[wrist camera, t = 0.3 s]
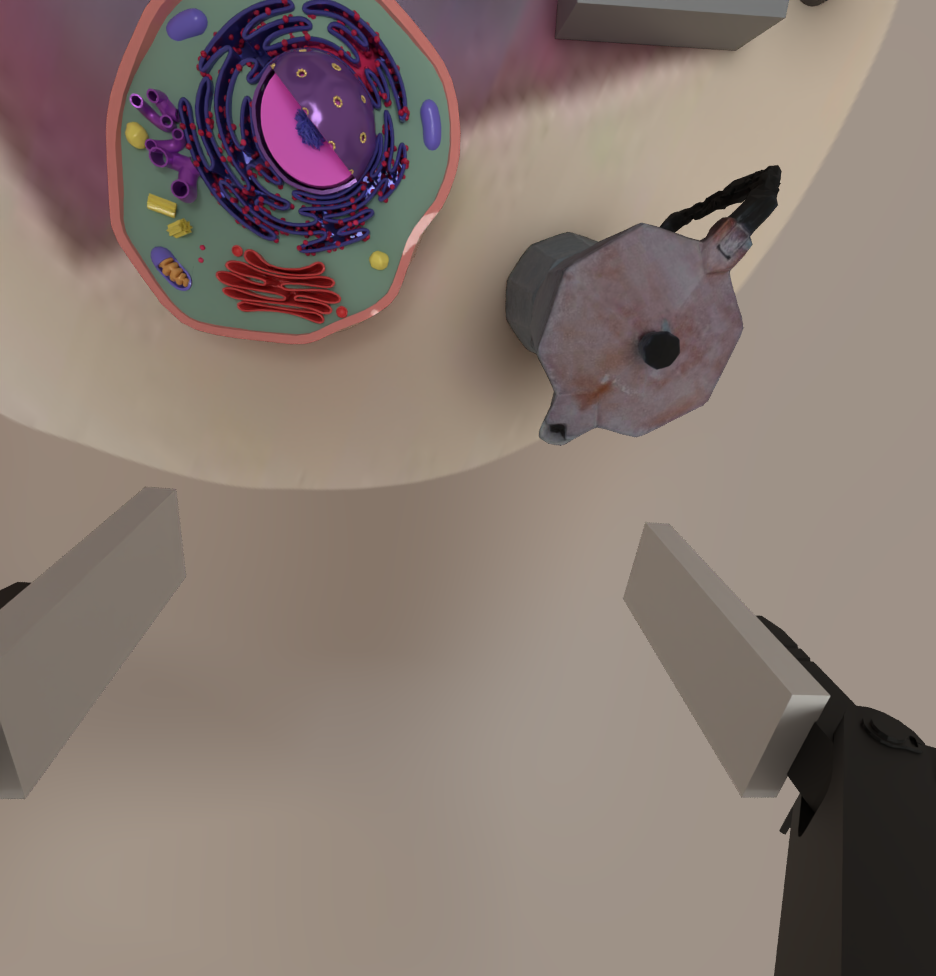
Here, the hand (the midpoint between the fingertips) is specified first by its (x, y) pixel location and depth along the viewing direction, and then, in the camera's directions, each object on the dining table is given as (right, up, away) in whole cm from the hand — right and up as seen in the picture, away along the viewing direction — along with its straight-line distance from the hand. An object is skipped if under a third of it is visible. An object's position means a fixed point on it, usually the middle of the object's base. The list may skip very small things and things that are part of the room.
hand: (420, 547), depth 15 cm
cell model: (-9, +22, +20) cm, 31 cm away
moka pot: (+8, +16, +24) cm, 31 cm away
